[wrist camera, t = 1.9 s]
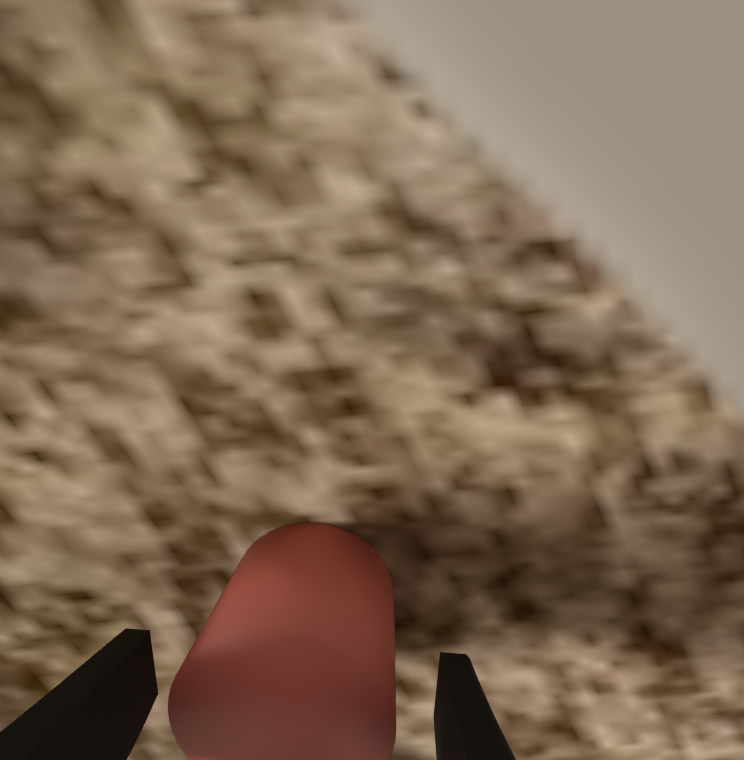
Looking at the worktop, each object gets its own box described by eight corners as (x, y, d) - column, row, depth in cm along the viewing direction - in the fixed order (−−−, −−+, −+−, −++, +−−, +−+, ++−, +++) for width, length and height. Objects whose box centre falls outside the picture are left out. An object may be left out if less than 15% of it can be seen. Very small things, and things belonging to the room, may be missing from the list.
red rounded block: (427, 594, 11) (445, 731, 8) (320, 679, 12) (291, 836, 9) (308, 490, 10) (267, 587, 7) (205, 588, 11) (123, 717, 8)
